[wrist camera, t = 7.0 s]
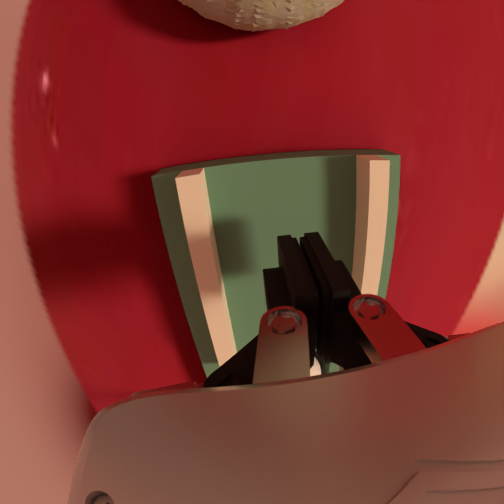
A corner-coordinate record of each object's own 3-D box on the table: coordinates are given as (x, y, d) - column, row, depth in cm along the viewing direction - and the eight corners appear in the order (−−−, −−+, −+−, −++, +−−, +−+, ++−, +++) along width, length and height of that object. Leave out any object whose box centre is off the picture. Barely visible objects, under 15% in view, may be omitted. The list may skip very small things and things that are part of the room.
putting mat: (136, 173, 14) (-80, 382, 1) (382, 149, 14) (620, 283, 1) (206, 400, 23) (200, 543, 10) (352, 381, 23) (394, 515, 10)
